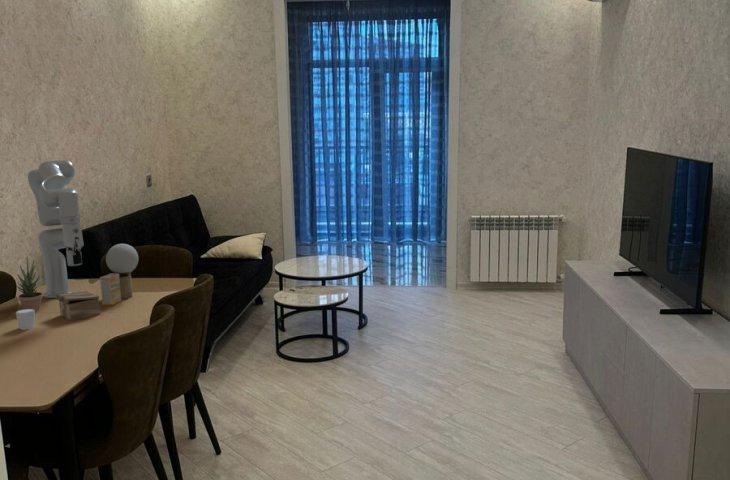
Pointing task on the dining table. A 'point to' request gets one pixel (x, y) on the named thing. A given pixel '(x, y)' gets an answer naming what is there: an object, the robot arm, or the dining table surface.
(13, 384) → the dining table surface
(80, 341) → the dining table surface
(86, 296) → the lid
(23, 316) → the white cylinder
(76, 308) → the box
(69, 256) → the tape roll
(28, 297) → the potted plant
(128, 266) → the lamp
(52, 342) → the dining table surface
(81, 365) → the dining table surface
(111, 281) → the supplement box
